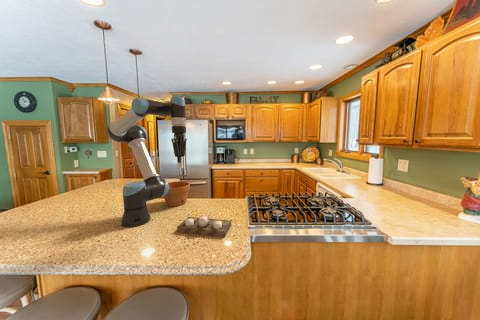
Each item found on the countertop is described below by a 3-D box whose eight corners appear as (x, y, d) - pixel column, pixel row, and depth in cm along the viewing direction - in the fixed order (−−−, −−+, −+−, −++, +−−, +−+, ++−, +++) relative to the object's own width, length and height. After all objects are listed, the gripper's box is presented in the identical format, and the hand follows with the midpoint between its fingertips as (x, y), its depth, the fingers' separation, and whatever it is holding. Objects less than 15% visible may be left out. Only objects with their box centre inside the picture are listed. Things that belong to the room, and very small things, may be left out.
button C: (212, 231, 97) (212, 224, 97) (215, 227, 102) (215, 220, 101) (220, 232, 96) (220, 224, 96) (223, 228, 101) (222, 221, 100)
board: (177, 232, 100) (177, 226, 99) (189, 221, 112) (188, 216, 112) (224, 237, 94) (224, 231, 94) (231, 225, 107) (231, 220, 106)
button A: (183, 228, 101) (183, 221, 100) (187, 225, 105) (187, 218, 104) (191, 229, 100) (191, 222, 99) (195, 225, 104) (194, 218, 104)
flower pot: (173, 210, 130) (172, 189, 129) (155, 204, 142) (154, 185, 140) (196, 201, 148) (195, 183, 146) (178, 197, 159) (177, 180, 158)
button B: (197, 226, 99) (197, 219, 98) (201, 222, 103) (201, 215, 103) (205, 227, 98) (205, 219, 97) (208, 223, 102) (208, 216, 102)
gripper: (178, 124, 98) (180, 170, 100) (190, 126, 110) (191, 166, 113) (165, 125, 99) (167, 169, 102) (178, 126, 112) (180, 166, 114)
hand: (180, 168), depth 107 cm, fingers closed
